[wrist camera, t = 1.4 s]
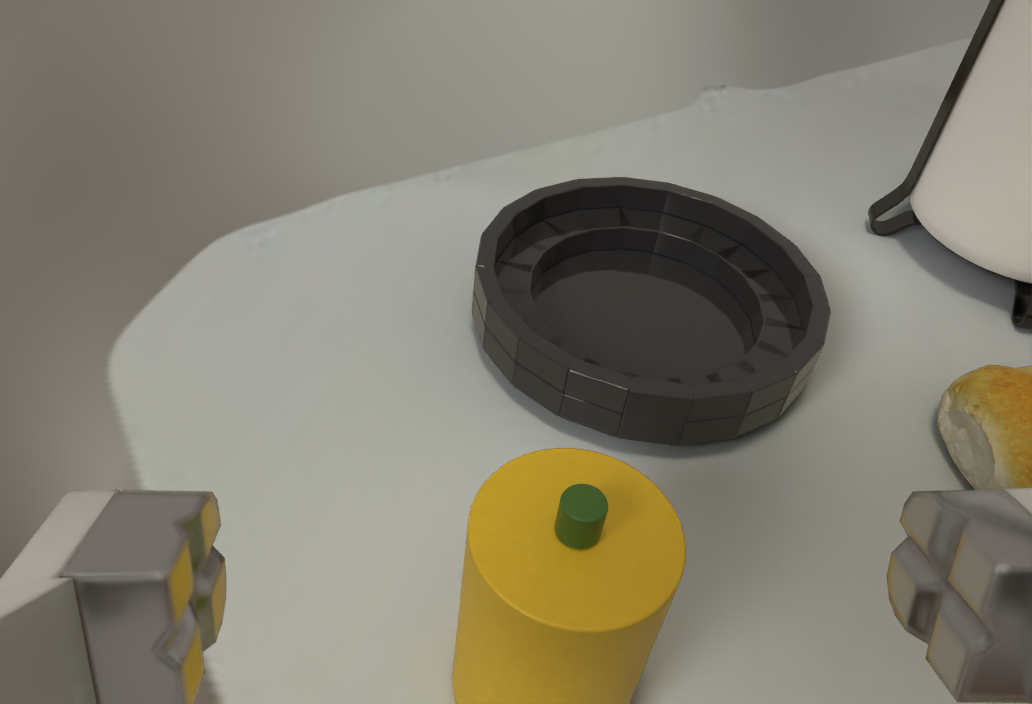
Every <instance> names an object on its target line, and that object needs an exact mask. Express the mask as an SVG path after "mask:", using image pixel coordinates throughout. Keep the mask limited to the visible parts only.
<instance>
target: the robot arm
mask: <svg viewBox="0 0 1032 704" xmlns="http://www.w3.org/2000/svg"><path fill="white" fill-rule="evenodd" d="M900 523H901V525H902V527H903V528H904V530H905V532H906V534H907V536H908V537H907V538H906V539H905V540H904V541H903V542H902V543H901V544H900V545H899V546H898V547H897V548H896V549H895V550H894V551H893V552H892V553H891V558H890V563H889V567H888V572H887V584H888V594H889V600H890V603H891V605H892V608H893V610H894V613H895V616H896V617H897V618H898V620H899V621H900V623H901V624H902V626H903V627H904V629H905V630H906V631H907V632H909V633H910V634H912V635H914V636H915V637H917V638H919V639H920V640H922V641H924V642H925V643H927V644H928V649H927V654H926V660H927V661H928V663H929V664H930V665H931V667H932V668H933V670H934V671H935V672H936V674H937V675H938V677H939V678H940V679H941V681H942V682H943V683H944V685H945V686H946V688H947V689H948V690H949V692H950V693H951V695H952V696H953V697H954V699H955V700H956V702H1026V703H1031V704H1032V487H1031V488H1007V489H987V490H952V491H917V492H912V493H911V495H910V496H909V498H908V499H907V501H906V502H905V504H904V507H903V511H902V515H901V518H900ZM220 526H221V521H220V514H219V507H218V500H217V498H216V497H215V495H214V494H213V492H207V491H149V490H123V491H119V490H76V491H72V492H69V493H67V494H66V495H65V496H64V497H63V498H62V500H61V501H60V502H59V504H58V505H57V506H56V507H55V509H54V510H53V511H52V513H51V514H50V515H49V516H48V518H47V519H46V521H45V522H44V523H43V524H42V526H41V527H40V528H39V530H38V531H37V532H36V533H35V535H34V536H33V537H32V539H31V540H30V541H29V542H28V544H27V545H26V546H25V548H24V549H23V550H22V551H21V553H20V554H19V556H18V557H17V558H16V559H15V561H14V562H13V563H12V564H11V566H10V567H9V569H8V570H7V571H6V572H5V574H4V575H3V576H2V578H0V704H193V703H194V700H195V698H196V695H197V692H198V690H199V687H200V684H201V681H202V679H203V676H204V673H205V669H204V660H203V651H205V650H206V649H207V648H208V647H210V646H211V645H212V644H214V643H215V642H216V640H217V637H218V634H219V631H220V628H221V625H222V621H223V614H224V608H225V602H226V567H225V558H224V557H223V556H222V555H221V554H220V553H219V552H218V551H217V550H216V549H215V548H214V546H213V543H214V541H215V538H216V536H217V533H218V531H219V529H220Z"/></svg>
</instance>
